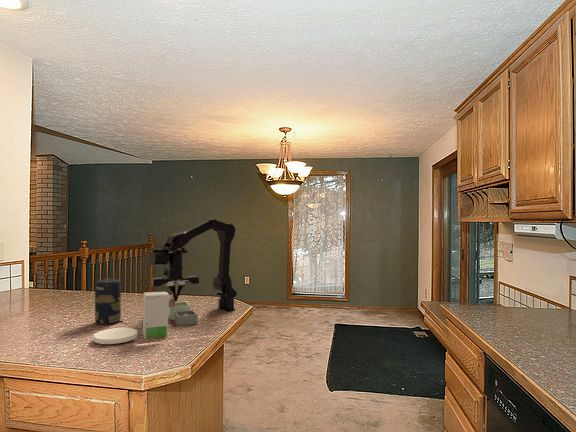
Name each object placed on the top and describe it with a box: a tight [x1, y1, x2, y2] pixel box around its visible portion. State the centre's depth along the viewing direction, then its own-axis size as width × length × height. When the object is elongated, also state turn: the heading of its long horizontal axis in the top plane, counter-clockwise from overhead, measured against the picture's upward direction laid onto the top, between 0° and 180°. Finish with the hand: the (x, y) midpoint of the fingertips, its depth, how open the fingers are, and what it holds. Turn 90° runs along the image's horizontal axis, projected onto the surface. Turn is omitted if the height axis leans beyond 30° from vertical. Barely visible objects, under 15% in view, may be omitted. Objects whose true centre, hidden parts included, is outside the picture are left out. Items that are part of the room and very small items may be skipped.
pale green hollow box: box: [168, 300, 191, 321], centre depth 169 cm, size 8×8×6 cm
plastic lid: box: [93, 327, 138, 345], centre depth 139 cm, size 14×14×2 cm
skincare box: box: [142, 291, 170, 340], centre depth 143 cm, size 8×7×16 cm
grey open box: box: [174, 309, 199, 327], centre depth 159 cm, size 8×8×4 cm
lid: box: [169, 296, 175, 307], centre depth 166 cm, size 9×9×2 cm
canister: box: [94, 277, 122, 325], centre depth 162 cm, size 10×10×18 cm
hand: (175, 301), depth 168 cm, fingers closed
